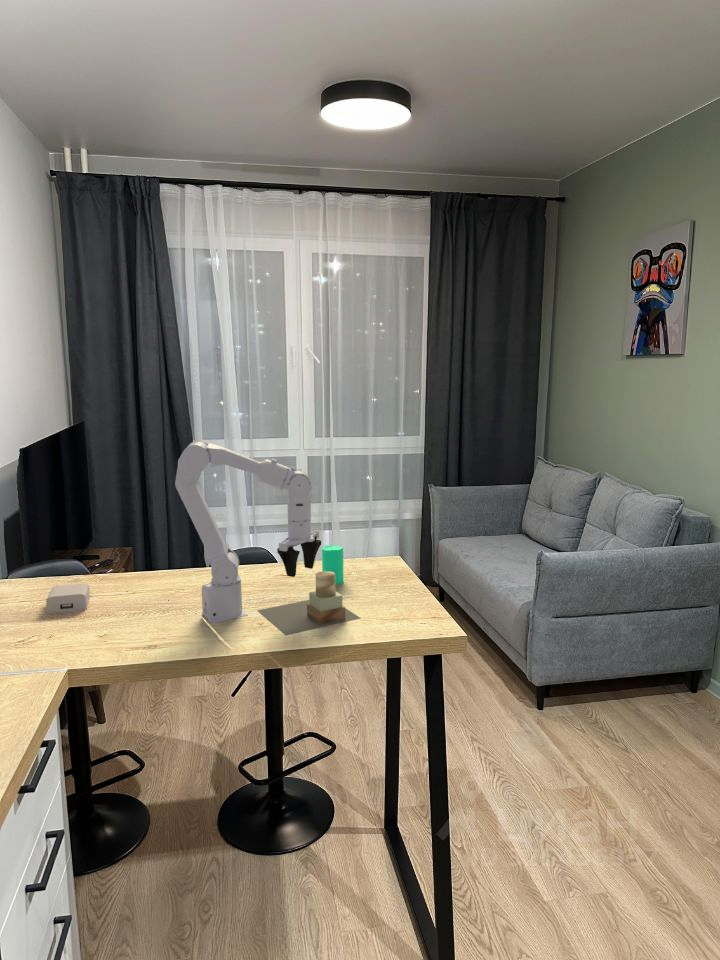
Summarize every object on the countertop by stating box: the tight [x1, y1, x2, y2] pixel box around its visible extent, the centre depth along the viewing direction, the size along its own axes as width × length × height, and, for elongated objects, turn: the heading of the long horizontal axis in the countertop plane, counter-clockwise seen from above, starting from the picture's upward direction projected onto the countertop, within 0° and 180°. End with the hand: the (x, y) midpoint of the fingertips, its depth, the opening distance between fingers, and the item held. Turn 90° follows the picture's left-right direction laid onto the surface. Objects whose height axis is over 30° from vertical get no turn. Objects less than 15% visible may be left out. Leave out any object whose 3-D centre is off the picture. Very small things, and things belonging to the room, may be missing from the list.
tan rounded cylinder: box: [315, 571, 337, 597], centre depth 162 cm, size 5×5×5 cm
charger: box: [45, 582, 91, 615], centre depth 176 cm, size 5×9×15 cm
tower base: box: [307, 603, 346, 625], centre depth 163 cm, size 7×7×3 cm
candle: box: [321, 542, 345, 585], centre depth 189 cm, size 6×6×12 cm
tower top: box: [308, 590, 343, 612], centre depth 163 cm, size 6×6×3 cm
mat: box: [256, 599, 361, 636], centre depth 165 cm, size 20×18×1 cm
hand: (300, 571), depth 167 cm, fingers open, 7 cm apart
